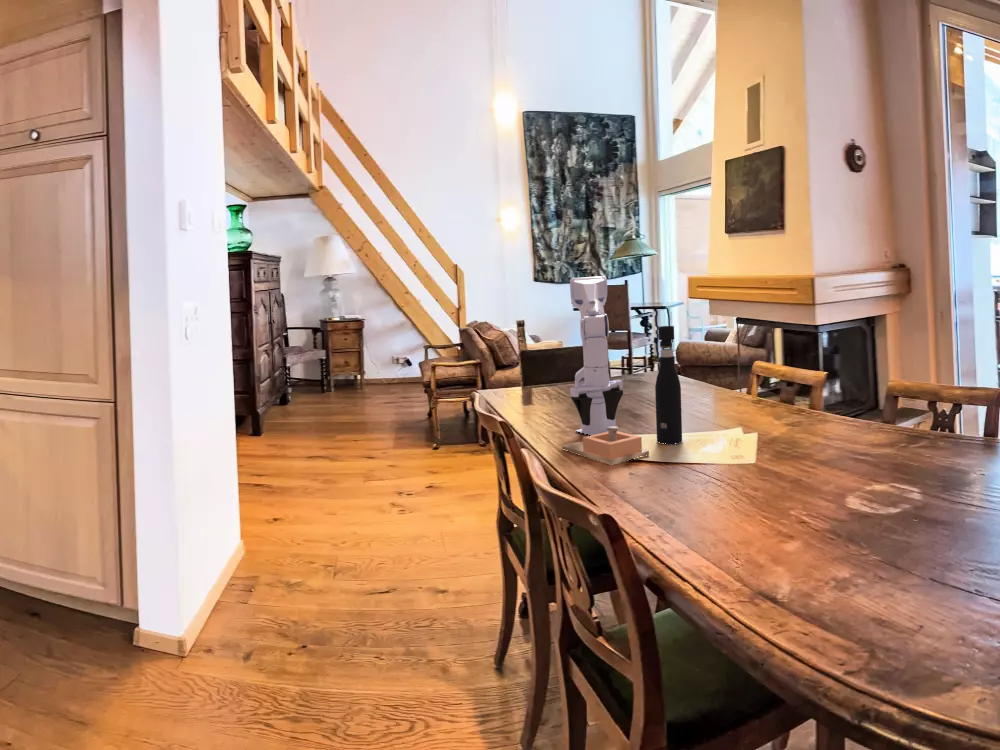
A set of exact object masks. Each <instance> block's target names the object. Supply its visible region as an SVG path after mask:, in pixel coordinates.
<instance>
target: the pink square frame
mask: <svg viewBox="0 0 1000 750" xmlns="http://www.w3.org/2000/svg"><path fill="white" fill-rule="evenodd" d="M582 441H583V450H584V451H585V452H588V453H592V454H595V455H598V456H602V457H605V458H608V459H613V458H617V457H621V456H624V455H628V454H632V453H636V452H640V451H642V449H643V448H642V447H643V444H642V443H643V442H642V441H643V440H642V436H638V435H634V434H631V433H626V432H623V431H619V430H618V431H617V441H613V442H609V434H608V432H604V433H599V434H595V435H591V436H589V435H587V436H583V437H582Z"/></svg>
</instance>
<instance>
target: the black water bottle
mask: <svg viewBox="0 0 1000 750" xmlns="http://www.w3.org/2000/svg"><path fill="white" fill-rule="evenodd" d="M657 329H658V340H660V341H661V348H662V349H660V351H659V352H660V354H659V355H660V356H659V368H658V373H657V376H656V380H655V386H654V391H655V393H654V395H655V417H656V418H655V420H656V421H655V422H656V423H655V425H656V442H657V441H658V442H660V443H664V444H663V445H667V444H672V445H676V444H675V443H679V442H681V441H682V442H683V427H682V426H683V424H682V422H683V419H682V388H681V386H682V385H681V381H680V377H679V374H678V371H677V369H676V364H675V363H676V361H675V359H676V357H675V356H674V355H675V354H674V349H673V342H672V340H675V326H674V325H664V326H663V325H662V326H658V328H657ZM658 442H657V443H658ZM682 442H681V443H682ZM660 443H659V444H660ZM665 443H666V444H665ZM679 444H680V443H679Z"/></svg>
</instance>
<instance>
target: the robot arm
mask: <svg viewBox="0 0 1000 750" xmlns="http://www.w3.org/2000/svg"><path fill="white" fill-rule="evenodd" d="M569 291H570V301H571V305H572V308H575V309H577V310H578V311H579V313H580V319H579V328H580V329H579V330H580V339H581V344H582V355H583V367H581V368H580V369H579V370H578V371H577V372H575V375H574V387H570V388H569V389H570V390H569V391H570V398H571V399H570V400H571V401H572V402H573V404H574V405H575V408H576V409H577V412H578V414H579V417H580V424H581V428H579V429H576V430H575V431H577V432H576V433H578V432H580V433H579V434H582V433H584V434H583V435H586V434H588V435H587V436H589V435H595V434H599V433H604V432H608V431H607V427H611V426H615V427H617V419H616V416H617V415H616V414H617V410H618V405H619V403H620V401H621V399H622V397H623V395H624V382H623V381H624V380H620V379H614V380H610V373H609V354H608V353H609V351H608V349H609V348H608V339H609V336H610V325H609V324H610V323H609V318H608V314H607V313H605V308H604V306H605V305H606V302H607V297H608V278H607V277H606V275H600V276H586V277H585V276H582V277H571V278H570V279H569Z"/></svg>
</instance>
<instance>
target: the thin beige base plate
mask: <svg viewBox="0 0 1000 750" xmlns="http://www.w3.org/2000/svg"><path fill="white" fill-rule="evenodd" d="M607 431H608V434H609V442H613V441H617V431H619V427H618V426H616V427H615V426H611V427H607ZM562 449H565V450H568V451H571V452H574V453H577V454H580V455H582V456H585V457H588V458H587V459H589V458H591V459H590V460H592V459H594V460H593V461H595V460H597V461H596V462H598V461H600V462H599V463H601V462H603V463H602V464H604V463H606V464H605V465H607V464H609V465H608V466H610V465H611V466H614V464H615V465H618V463H619V464H622V463H621V462H623V463H626V461H627V462H630V461H629V460H631V459H634V458H637V457H640V456H646V455H649V456H650V451H649V450H647V449H643V448H642V451H640V452H636V453H632V454H628V455H624V456H621V457H617V458H613V459H608V458H605V457H602V456H598V455H595V454H592V453H588V452H585V451H584V450H583V440H582V441H577V442H572V443H567V444H563V445H561V450H562ZM582 456H581V457H582ZM585 457H584V458H585ZM646 457H647V456H646ZM634 460H635V459H634ZM631 461H632V460H631Z"/></svg>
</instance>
